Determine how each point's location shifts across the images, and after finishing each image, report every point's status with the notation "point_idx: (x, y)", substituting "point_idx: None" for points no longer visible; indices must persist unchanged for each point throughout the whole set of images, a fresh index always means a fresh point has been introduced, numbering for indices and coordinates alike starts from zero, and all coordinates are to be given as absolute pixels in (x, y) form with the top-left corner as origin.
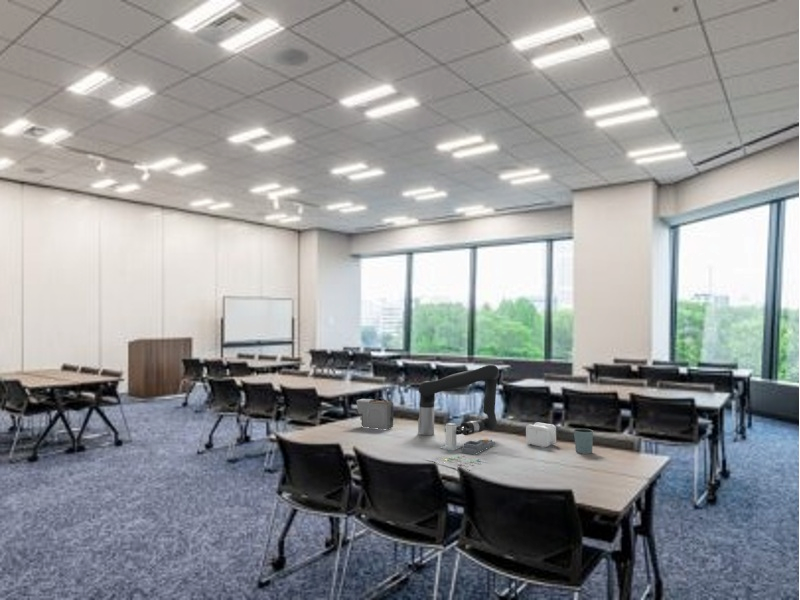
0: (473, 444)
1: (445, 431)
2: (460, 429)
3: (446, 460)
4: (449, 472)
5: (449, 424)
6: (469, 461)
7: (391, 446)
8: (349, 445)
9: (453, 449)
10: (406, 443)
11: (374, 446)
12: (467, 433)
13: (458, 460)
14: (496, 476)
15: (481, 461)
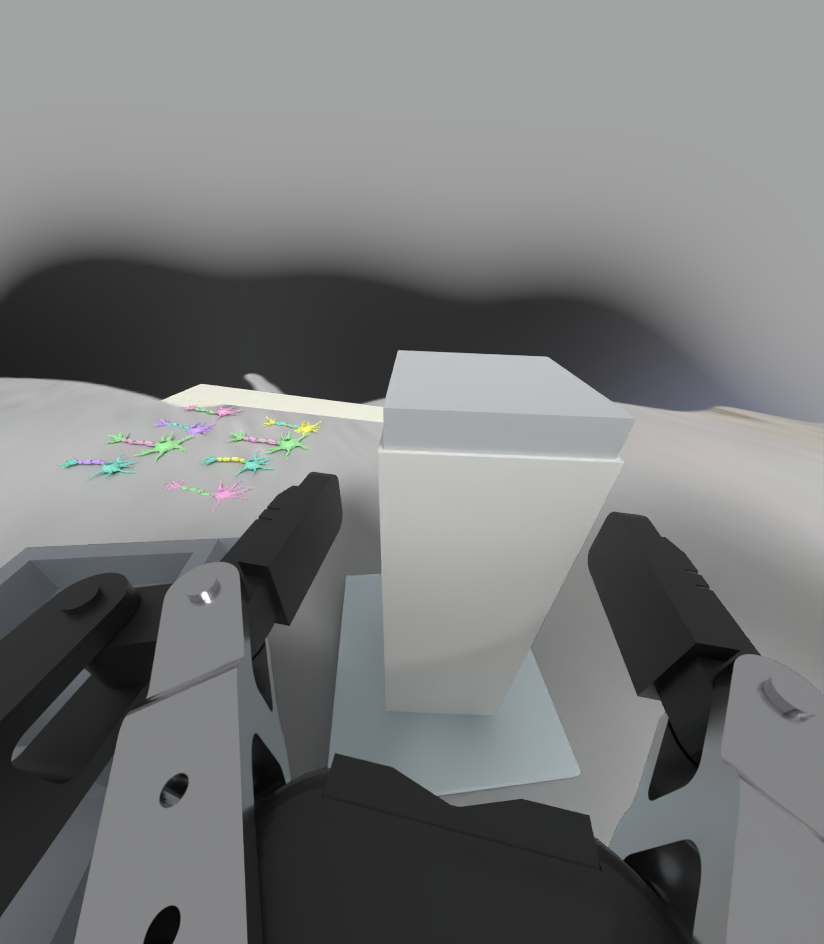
0: None
1: (600, 549)
2: (325, 770)
3: (302, 423)
4: (251, 377)
5: (464, 354)
6: (178, 441)
7: (701, 464)
8: (766, 416)
9: (355, 576)
10: (802, 551)
11: (722, 438)
12: (56, 716)
13: (243, 435)
14: (70, 390)
15: (94, 462)
